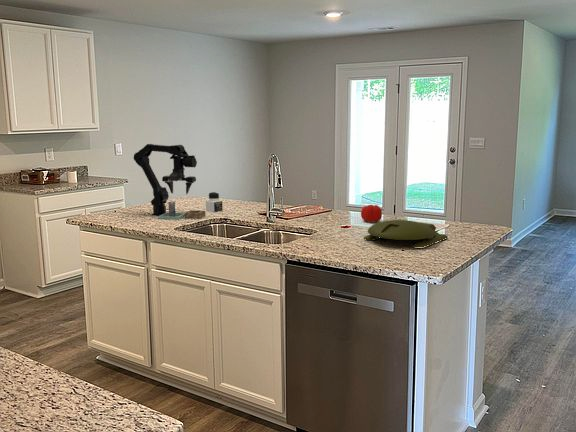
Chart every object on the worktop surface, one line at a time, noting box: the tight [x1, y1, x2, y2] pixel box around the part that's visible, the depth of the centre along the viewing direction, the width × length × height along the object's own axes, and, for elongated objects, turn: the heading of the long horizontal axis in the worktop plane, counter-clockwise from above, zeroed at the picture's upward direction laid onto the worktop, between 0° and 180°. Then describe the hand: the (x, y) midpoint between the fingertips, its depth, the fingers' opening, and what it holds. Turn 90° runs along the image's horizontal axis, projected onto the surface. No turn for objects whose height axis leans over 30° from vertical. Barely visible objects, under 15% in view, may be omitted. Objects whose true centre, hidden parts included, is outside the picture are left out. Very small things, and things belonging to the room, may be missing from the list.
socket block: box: [184, 209, 206, 220], centre depth 322 cm, size 9×9×4 cm
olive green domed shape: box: [363, 219, 448, 248], centre depth 267 cm, size 35×31×10 cm
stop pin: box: [168, 201, 176, 217], centre depth 321 cm, size 4×4×9 cm
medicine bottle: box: [205, 191, 224, 213], centre depth 342 cm, size 7×7×12 cm
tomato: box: [360, 204, 383, 223], centre depth 312 cm, size 11×12×9 cm
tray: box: [157, 212, 186, 221], centre depth 321 cm, size 12×12×2 cm
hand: (179, 193), depth 330 cm, fingers open, 9 cm apart
